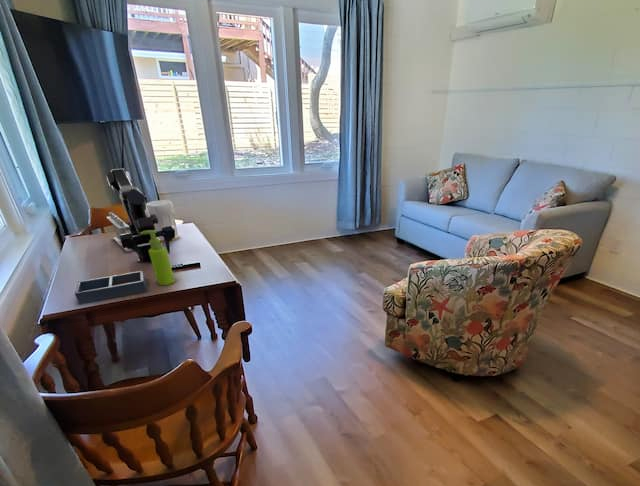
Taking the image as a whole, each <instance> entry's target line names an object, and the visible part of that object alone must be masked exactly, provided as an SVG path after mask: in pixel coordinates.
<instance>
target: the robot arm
mask: <svg viewBox="0 0 640 486" xmlns="http://www.w3.org/2000/svg"><path fill="white" fill-rule="evenodd" d="M106 180H107V183H108V186H109V187H111V189H112V192H114V193H115V194H116V195H118V196H119V199H120V202H121V204H122V206H123V208H124V210H125V213H126V215H127V217H128V221H129V223H130V225H129V232H127V233H125V234H120V236H119V237H120V241H121V244H122V247H123V248H127V249H131V250H133V251H132V252H134V253H135V254H137V256H138V259H137V260H136V261H137V263H138V262H139V263H152V261H151V258H150V255H149V251H148V250H149V249H151V245H150V242H149V240H150V239H151V237H150V233H146V234H140V233H141V232H142V231H146V230H155V227H154V224H158V219H157V217H156V215H155V214H153V215H150V214H149V213H148V211H147V206H146V204H147V202H146V201H147V200H148V198H147V196H146V195H144V193H143V192H142V191H140V190H139V188H138V187H136V186H134V185H132V183H133V180H132V178H131V175H130V172H129V171H127V170H126V169H125V168H113V169H111V170H110V172H108V173H107V174H106ZM148 214H149V215H148ZM155 235H156V238H158V237H160V236H163V238H164V242H163V243H164V245H165V248H166V251H167V254H168V255H170V254H171V249H170V248H171V247H170V245H171V242H173V241H172V239H173V238H175V230H174V227H173V226H171V225H170V226H164V227H162V231H158V232H156V233H155ZM122 247H121V248H122ZM123 248H122V249H123Z"/></svg>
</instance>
